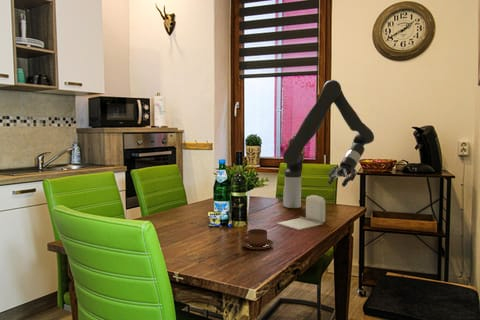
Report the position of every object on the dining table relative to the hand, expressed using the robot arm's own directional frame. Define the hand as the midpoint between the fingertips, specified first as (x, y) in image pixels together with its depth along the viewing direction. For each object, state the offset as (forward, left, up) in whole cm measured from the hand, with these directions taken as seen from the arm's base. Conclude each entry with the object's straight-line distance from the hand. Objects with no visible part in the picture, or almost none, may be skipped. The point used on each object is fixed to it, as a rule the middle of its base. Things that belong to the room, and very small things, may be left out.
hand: (336, 184), depth 204 cm
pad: (0, -26, -16) cm, 31 cm away
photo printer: (0, -15, -16) cm, 22 cm away
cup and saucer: (+14, -64, -17) cm, 68 cm away
